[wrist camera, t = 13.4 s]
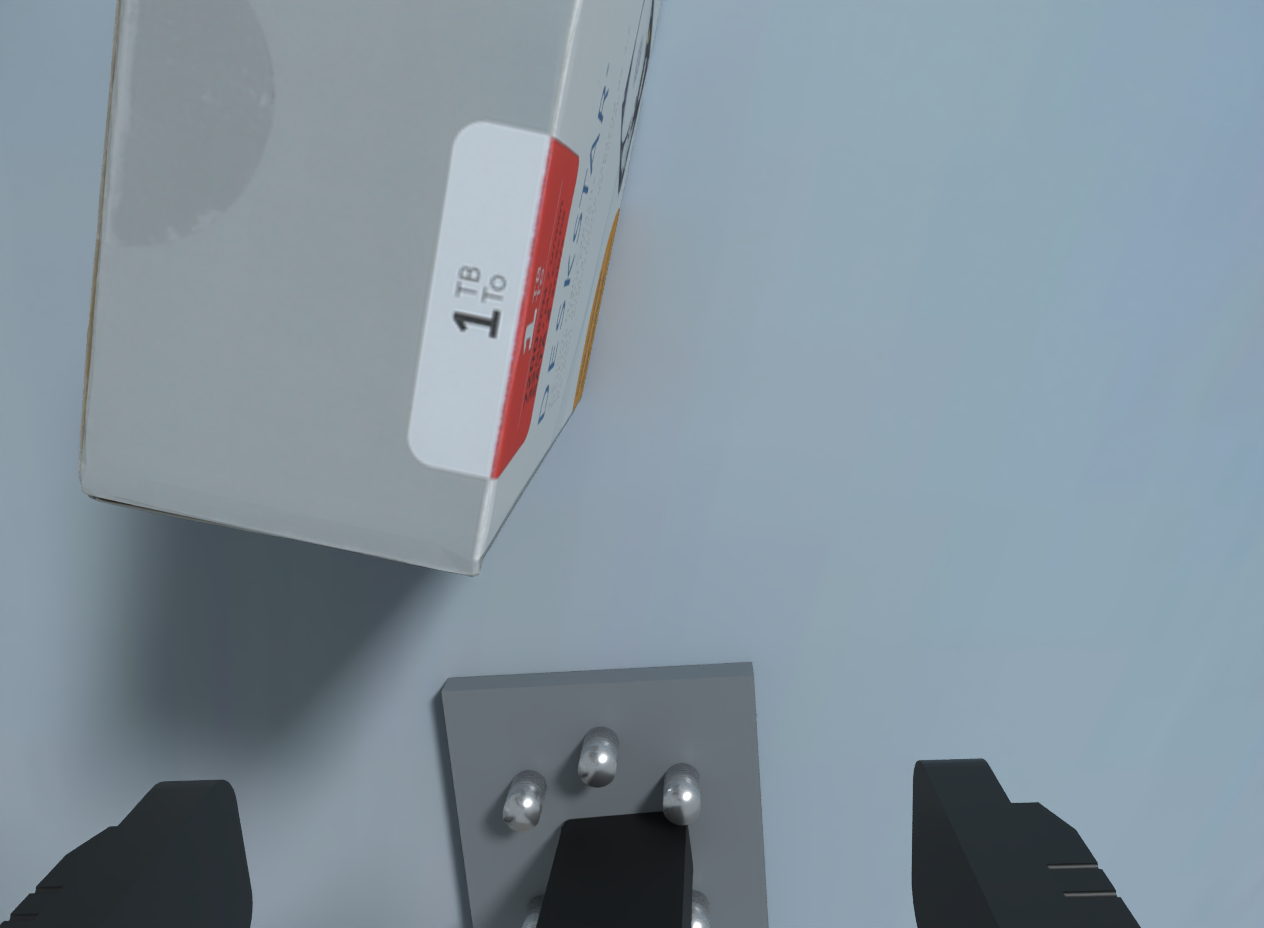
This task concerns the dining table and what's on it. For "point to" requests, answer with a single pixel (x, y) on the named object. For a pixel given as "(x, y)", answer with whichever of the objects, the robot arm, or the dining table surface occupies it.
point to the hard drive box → (353, 260)
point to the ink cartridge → (620, 874)
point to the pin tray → (607, 778)
